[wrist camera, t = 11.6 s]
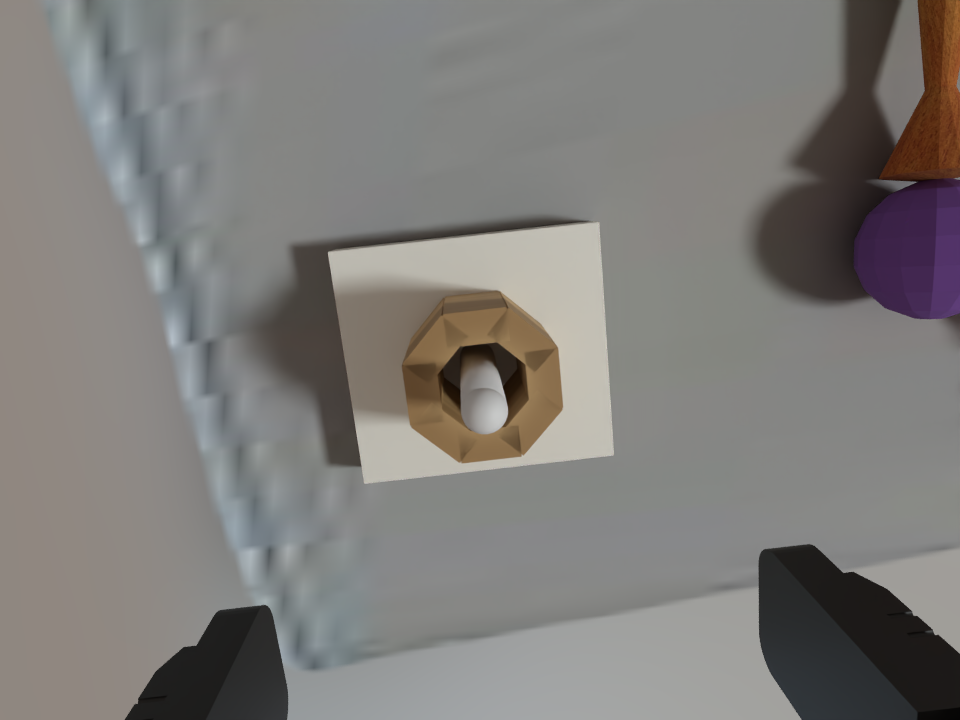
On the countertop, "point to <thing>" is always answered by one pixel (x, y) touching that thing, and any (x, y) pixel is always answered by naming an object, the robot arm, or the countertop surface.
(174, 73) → the countertop surface
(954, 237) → the kendama
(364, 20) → the countertop surface
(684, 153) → the countertop surface
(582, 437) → the ring peg stand
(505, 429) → the bead
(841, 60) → the countertop surface
